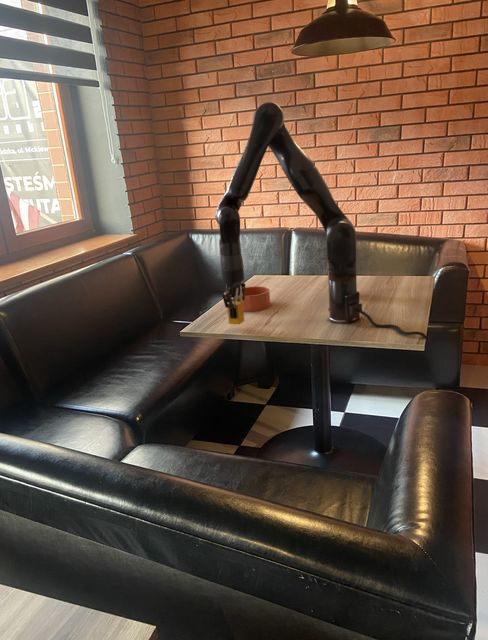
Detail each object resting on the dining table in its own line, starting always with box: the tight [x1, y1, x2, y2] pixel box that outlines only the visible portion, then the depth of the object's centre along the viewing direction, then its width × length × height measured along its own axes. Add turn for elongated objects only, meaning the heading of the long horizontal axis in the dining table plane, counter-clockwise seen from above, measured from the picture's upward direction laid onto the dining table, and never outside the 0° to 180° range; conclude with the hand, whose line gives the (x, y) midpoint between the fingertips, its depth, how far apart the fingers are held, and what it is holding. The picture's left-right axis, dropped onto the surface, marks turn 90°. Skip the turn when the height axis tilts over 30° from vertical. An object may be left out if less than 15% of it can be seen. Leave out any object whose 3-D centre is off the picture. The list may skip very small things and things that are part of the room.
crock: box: [232, 285, 271, 313], centre depth 208 cm, size 14×14×6 cm
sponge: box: [226, 301, 245, 325], centre depth 183 cm, size 4×4×7 cm
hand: (236, 316), depth 183 cm, fingers closed on sponge, 4 cm apart
